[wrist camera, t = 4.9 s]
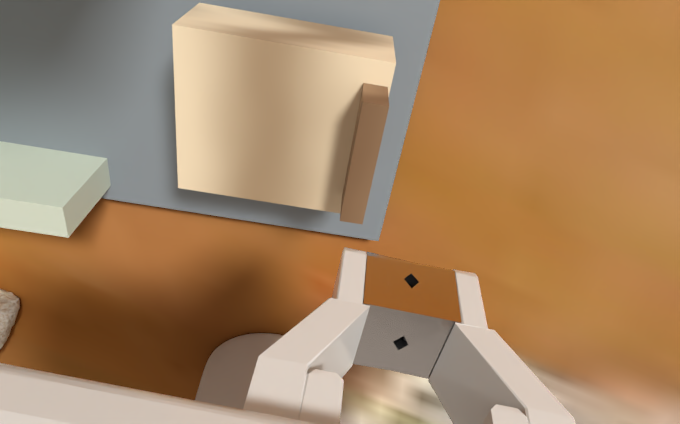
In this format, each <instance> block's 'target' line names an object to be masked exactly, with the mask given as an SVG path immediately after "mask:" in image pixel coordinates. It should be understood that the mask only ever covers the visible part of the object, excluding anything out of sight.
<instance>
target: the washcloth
mask: <svg viewBox="0 0 680 424" xmlns="http://www.w3.org/2000/svg"><path fill="white" fill-rule="evenodd" d="M19 309H20V300H19V298H17V296H15V295H13V293H12V292H7V291H5V290H2V289H0V349H1V348H2V347H3V345H4V343H5V342H6V341H7V338H8V337H9V335H10V332H11V327H12V326H13V325H14V324H15V320H16V316H17V314H18V310H19Z"/></svg>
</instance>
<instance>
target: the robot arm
mask: <svg viewBox="0 0 680 424" xmlns="http://www.w3.org/2000/svg"><path fill="white" fill-rule="evenodd" d="M353 364H356V365H362V366H368V367H374V368H380V369H386V370H392V371H396V372H401V373H405V374H410V375H414V376H419V377H423V378H428V379H429V380H428V381H429V383H430V384H431V386H432V388H433V390H434V391H435V393H436V395H437V396H438V398H439V400H440V402H441V403H442V405H443V407H444V409H445V410H446V412H447V414H448V415H449V417H450V419H451V421H452V422H453V424H576V423H575V419H574V417H573V416H572V415H571V414H570V413H569V412H568V411H567V410H566V409H565V407H564V406H563V405H562V404H561V403H560V402H559V401H558V400H557V399H556V398H555V396H554V395H553V394H552V393H551V392H550V391H549V390H548V389H547V388H546V387H545V385H544V384H543V383H542V382H541V381H540V380H539V379H538V378H537V377H536V375H535V374H534V373H533V372H532V371H531V370H530V369H529V368H528V367H527V366H526V364H525V363H524V362H523V361H522V360H521V359H520V358H519V357H518V356H517V355H516V353H515V352H514V351H513V350H512V349H511V348H510V347H509V346H508V345H507V344H506V342H505V341H504V340H503V339H502V338H501V337H500V336H499V335H498V334H497V332H496V331H495V330H491V329H488V327H487V322H486V316H485V311H484V306H483V301H482V296H481V291H480V286H479V281H478V276H477V275H476V274H475V273H470V272H465V271H459V270H454V269H453V270H451V269H445V268H440V267H435V266H430V265H425V264H420V263H415V262H410V261H406V260H401V259H397V258H392V257H388V256H383V255H379V254H374V253H370V252H364V251H359V250H355V249H350V248H345V247H344V249H343V252H342V256H341V260H340V264H339V269H338V273H337V277H336V281H335V285H334V290H333V295H332V298H329V299H328V300H326V301H325V302H324V303H323V304H322V305H320V306H319V307H318V308H317V309H315V310H314V311H313V312H312V313H311V314H309V315H308V316H307V317H306V318H304V319H303V320H302V321H301V322H300V323H298V324H297V325H296V326H295V327H293V328H292V329H291V330H290V331H289V332H287V333H286V334H285V335H284V336H282V337H281V338H280V339H279V340H278V341H276V342H275V343H274V344H273V345H271V346H270V347H269V348H268V349H267V350H265V351H264V352H263V353H262V354H260V355H259V356H258V360H257V363H256V367H255V370H254V374H253V377H252V380H251V384H250V387H249V391H248V394H247V398H246V401H245V404H244V408H243V409H238V408H233V407H227V406H222V405H217V404H212V403H207V402H201V401H196V400H191V399H186V398H181V397H175V396H170V395H165V394H160V393H155V392H149V391H144V390H139V389H134V388H128V387H123V386H118V385H113V384H108V383H102V382H97V381H92V380H87V379H82V378H76V377H71V376H66V375H61V374H55V373H50V372H45V371H40V370H35V369H29V368H24V367H19V366H14V365H8V364H3V363H0V424H340V416H341V406H342V395H343V385H344V380H343V379H342V377H343V376H344V375H345V374H346V373H347V371H348V370H349V369H350V368H351V367H352V365H353Z"/></svg>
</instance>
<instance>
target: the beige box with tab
mask: <svg viewBox="0 0 680 424" xmlns="http://www.w3.org/2000/svg"><path fill="white" fill-rule="evenodd" d="M172 37H173V64H174V91H175V118H176V146H177V173H178V188H181V189H188V190H194V191H200V192H207V193H213V194H219V195H226V196H232V197H239V198H245V199H251V200H258V201H264V202H270V203H277V204H283V205H289V206H296V207H302V208H308V209H315V210H321V211H328V212H334V213H340V221H343V222H349V223H356V224H362V225H363V220H364V216H365V211H366V207H367V203H368V198H369V194H370V189H371V185H372V180H373V176H374V172H375V167H376V163H377V158H378V154H379V150H380V145H381V141H382V136H383V132H384V128H385V123H386V119H387V114H388V110H389V93H390V89H391V84H392V80H393V75H394V71H395V66H396V58H395V50H394V42H393V36H388V35H382V34H376V33H371V32H365V31H359V30H353V29H348V28H342V27H336V26H331V25H325V24H319V23H313V22H308V21H302V20H296V19H291V18H285V17H279V16H273V15H268V14H262V13H256V12H251V11H245V10H239V9H233V8H228V7H222V6H216V5H211V4H205V3H198V4H197V5H196V6H195V7H193V8H192V9H191V10H190V11H188V12H187V13H186V14H185V15H183V16H182V17H181V18H180V19H178V20H177V21H176V22H175V23H173V24H172Z"/></svg>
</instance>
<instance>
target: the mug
mask: <svg viewBox="0 0 680 424" xmlns="http://www.w3.org/2000/svg"><path fill="white" fill-rule="evenodd" d="M282 336H284V335H280V334H272V333H252V334H246V335H241V336H238V337H235V338H232V339H230V340H228V341H226V342H224V343H223V344H221V345H220V346H219V347H217V348H216V349H215V350H214V351H213V353H212V354H211V356H210V357H209V359H208V361H207V363H206V366H205V368H204V371H203V374H202V377H201V381H200V384H199V388H198V391H197V394H196V398H195V400H196V401H201V402H207V403H212V404H217V405H222V406H227V407H233V408H238V409H243V408H244V404H245V401H246V398H247V394H248V391H249V387H250V384H251V380H252V377H253V374H254V370H255V367H256V363H257V360H258V356H259V355H260V354H262V353H263V352H264V351H265V350H267V349H268V348H269V347H270V346H271V345H273V344H274V343H275V342H276V341H278V340H279V339H280V338H281V337H282Z"/></svg>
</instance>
